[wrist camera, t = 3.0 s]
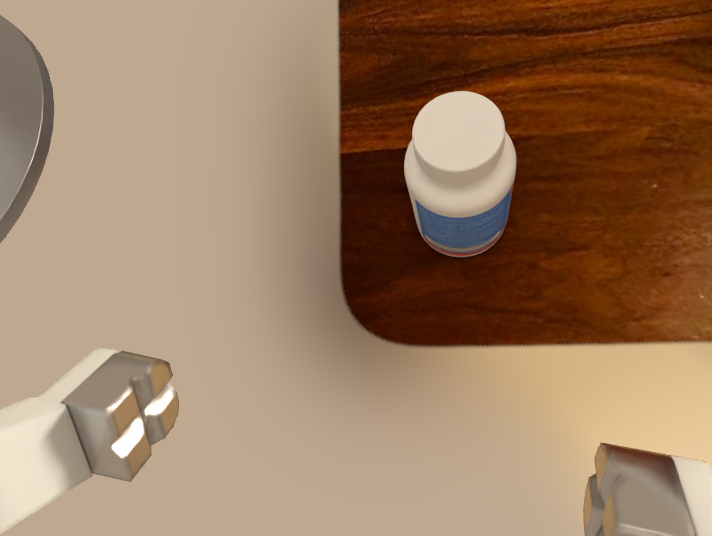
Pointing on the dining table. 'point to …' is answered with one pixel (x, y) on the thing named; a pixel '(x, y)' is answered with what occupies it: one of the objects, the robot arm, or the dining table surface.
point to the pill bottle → (460, 173)
